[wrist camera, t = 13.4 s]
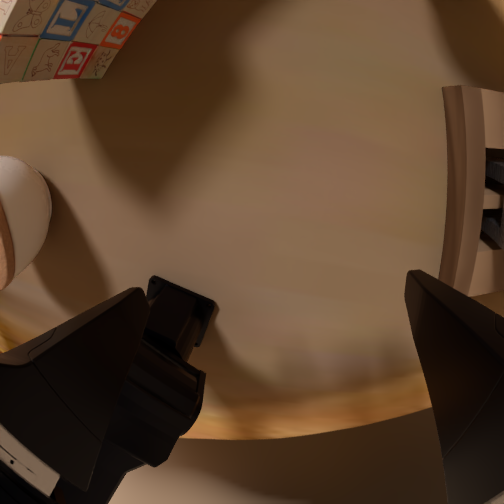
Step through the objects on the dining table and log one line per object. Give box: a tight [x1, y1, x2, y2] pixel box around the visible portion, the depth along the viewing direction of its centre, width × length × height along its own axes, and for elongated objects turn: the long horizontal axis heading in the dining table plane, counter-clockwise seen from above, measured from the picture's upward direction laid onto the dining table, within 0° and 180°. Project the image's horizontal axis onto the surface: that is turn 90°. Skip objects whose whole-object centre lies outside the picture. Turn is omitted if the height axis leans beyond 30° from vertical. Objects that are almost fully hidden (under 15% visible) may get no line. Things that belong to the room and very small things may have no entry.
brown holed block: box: [438, 85, 504, 297], centre depth 16 cm, size 10×16×3 cm, turn 10°
